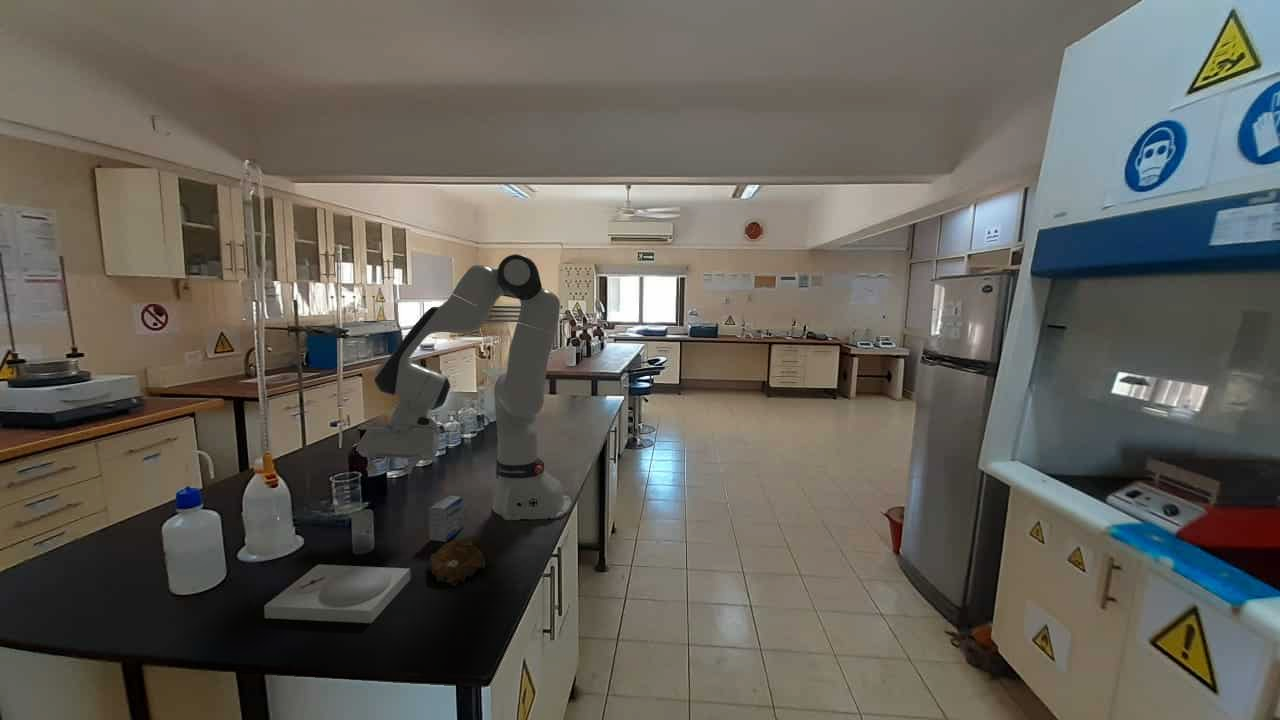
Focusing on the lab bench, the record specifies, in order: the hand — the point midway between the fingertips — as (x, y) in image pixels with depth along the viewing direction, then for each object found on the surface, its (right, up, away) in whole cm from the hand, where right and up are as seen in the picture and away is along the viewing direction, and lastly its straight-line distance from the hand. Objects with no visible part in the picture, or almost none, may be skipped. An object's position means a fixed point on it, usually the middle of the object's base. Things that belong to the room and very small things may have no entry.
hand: (388, 471), depth 121 cm
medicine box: (+16, -16, -1) cm, 22 cm away
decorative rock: (+24, -18, -15) cm, 33 cm away
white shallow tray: (+6, -18, -28) cm, 34 cm away
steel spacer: (-1, -16, -9) cm, 19 cm away
